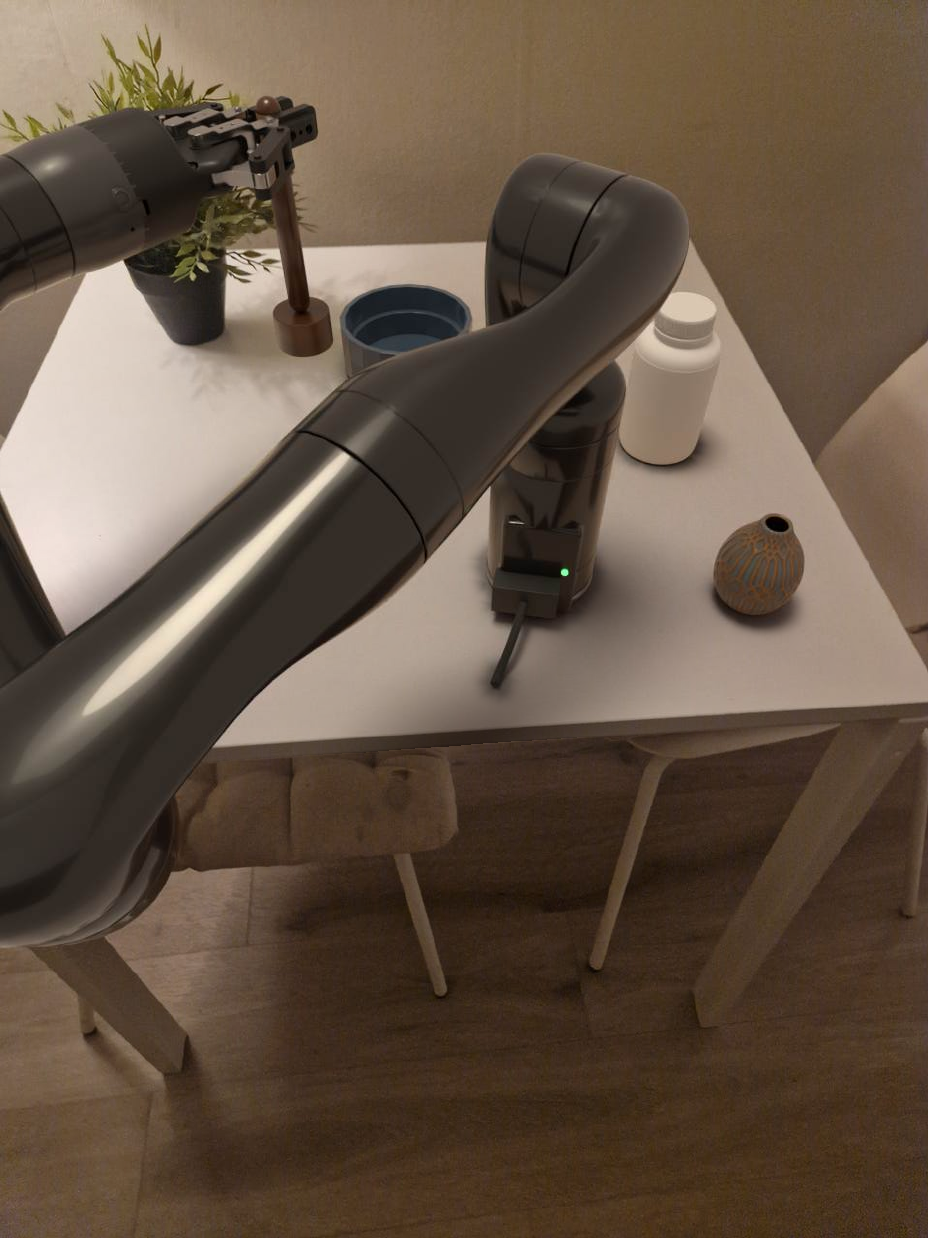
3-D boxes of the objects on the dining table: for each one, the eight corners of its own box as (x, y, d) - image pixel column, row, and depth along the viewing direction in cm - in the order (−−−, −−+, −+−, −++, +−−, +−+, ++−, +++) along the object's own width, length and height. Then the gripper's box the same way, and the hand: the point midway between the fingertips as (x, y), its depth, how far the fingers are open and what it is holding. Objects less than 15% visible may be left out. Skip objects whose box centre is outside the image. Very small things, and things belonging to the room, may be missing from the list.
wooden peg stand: (325, 359, 68) (288, 110, 54) (271, 354, 69) (220, 106, 54) (339, 330, 71) (308, 86, 57) (288, 325, 72) (244, 82, 57)
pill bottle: (604, 426, 83) (628, 290, 72) (673, 412, 85) (707, 277, 73) (637, 473, 79) (668, 336, 67) (709, 458, 80) (752, 322, 69)
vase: (728, 635, 66) (759, 562, 59) (691, 576, 70) (716, 501, 63) (802, 618, 67) (841, 545, 60) (762, 561, 71) (794, 486, 64)
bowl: (459, 410, 85) (459, 360, 81) (331, 396, 87) (324, 347, 82) (479, 338, 94) (480, 289, 89) (363, 326, 95) (358, 278, 91)
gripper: (60, 222, 55) (250, 147, 64) (185, 287, 50) (374, 195, 59) (14, 100, 50) (229, 35, 58) (149, 158, 44) (365, 77, 53)
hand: (301, 116), depth 58 cm, fingers closed on wooden peg stand
